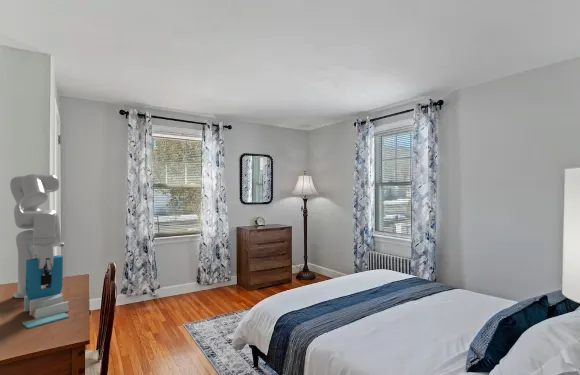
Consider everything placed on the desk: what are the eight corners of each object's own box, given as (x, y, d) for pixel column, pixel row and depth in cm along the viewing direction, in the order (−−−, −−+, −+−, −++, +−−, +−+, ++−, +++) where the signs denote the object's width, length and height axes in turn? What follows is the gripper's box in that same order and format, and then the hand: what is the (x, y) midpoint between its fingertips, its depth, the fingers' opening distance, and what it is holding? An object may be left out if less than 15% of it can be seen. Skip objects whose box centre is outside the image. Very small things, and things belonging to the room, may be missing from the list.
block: (28, 310, 128) (28, 261, 128) (24, 307, 131) (25, 259, 131) (62, 301, 137) (63, 256, 137) (58, 299, 140) (59, 255, 140)
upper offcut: (36, 308, 126) (36, 300, 126) (56, 301, 133) (57, 294, 134) (43, 309, 125) (43, 301, 125) (63, 302, 132) (63, 295, 132)
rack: (24, 311, 131) (24, 296, 131) (55, 303, 140) (55, 290, 140) (35, 319, 122) (35, 304, 122) (68, 311, 131) (68, 297, 131)
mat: (22, 323, 118) (22, 322, 118) (62, 313, 129) (62, 311, 129) (28, 328, 114) (28, 327, 114) (69, 317, 124) (69, 315, 124)
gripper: (27, 240, 136) (26, 281, 136) (39, 244, 126) (39, 289, 126) (48, 237, 142) (47, 277, 142) (61, 242, 132) (61, 285, 132)
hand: (43, 282), depth 134 cm, fingers closed on block, 5 cm apart
